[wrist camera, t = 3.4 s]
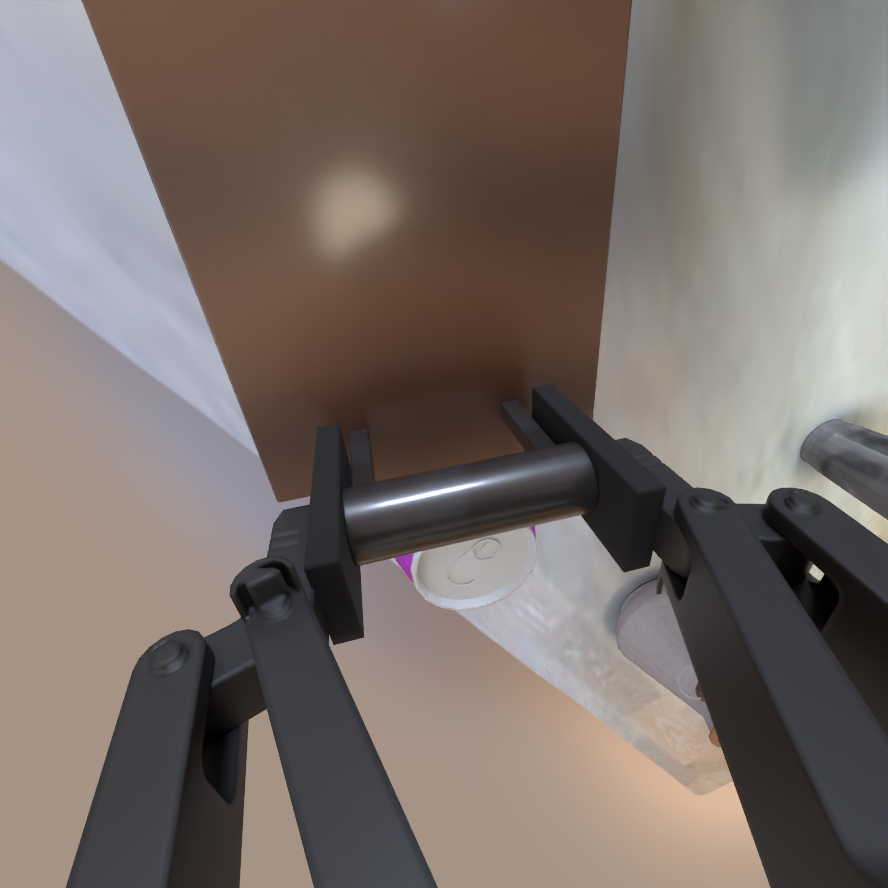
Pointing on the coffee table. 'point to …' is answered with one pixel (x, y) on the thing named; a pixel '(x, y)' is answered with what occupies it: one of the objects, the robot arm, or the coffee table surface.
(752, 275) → the coffee table surface
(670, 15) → the coffee table surface
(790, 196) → the coffee table surface
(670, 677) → the coffee pot
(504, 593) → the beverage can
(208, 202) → the lid
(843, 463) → the beverage cup
